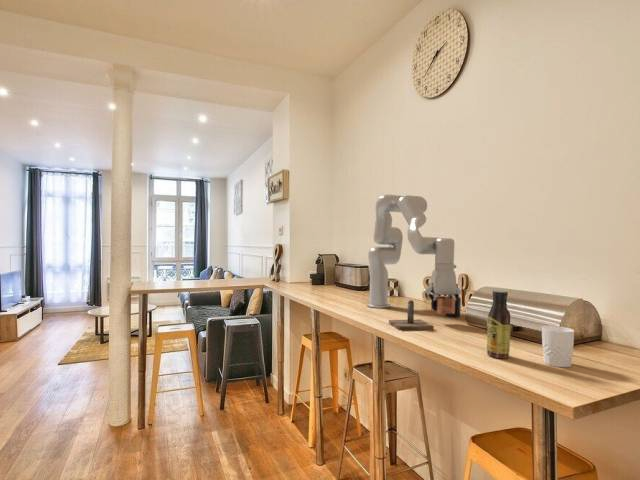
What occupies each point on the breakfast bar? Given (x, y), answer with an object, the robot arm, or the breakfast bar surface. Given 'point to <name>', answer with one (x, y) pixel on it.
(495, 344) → the sauce bottle
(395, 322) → the post board
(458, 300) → the supplement bottle
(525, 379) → the breakfast bar surface
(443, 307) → the reddish brown box
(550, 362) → the white cup
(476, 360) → the breakfast bar surface
